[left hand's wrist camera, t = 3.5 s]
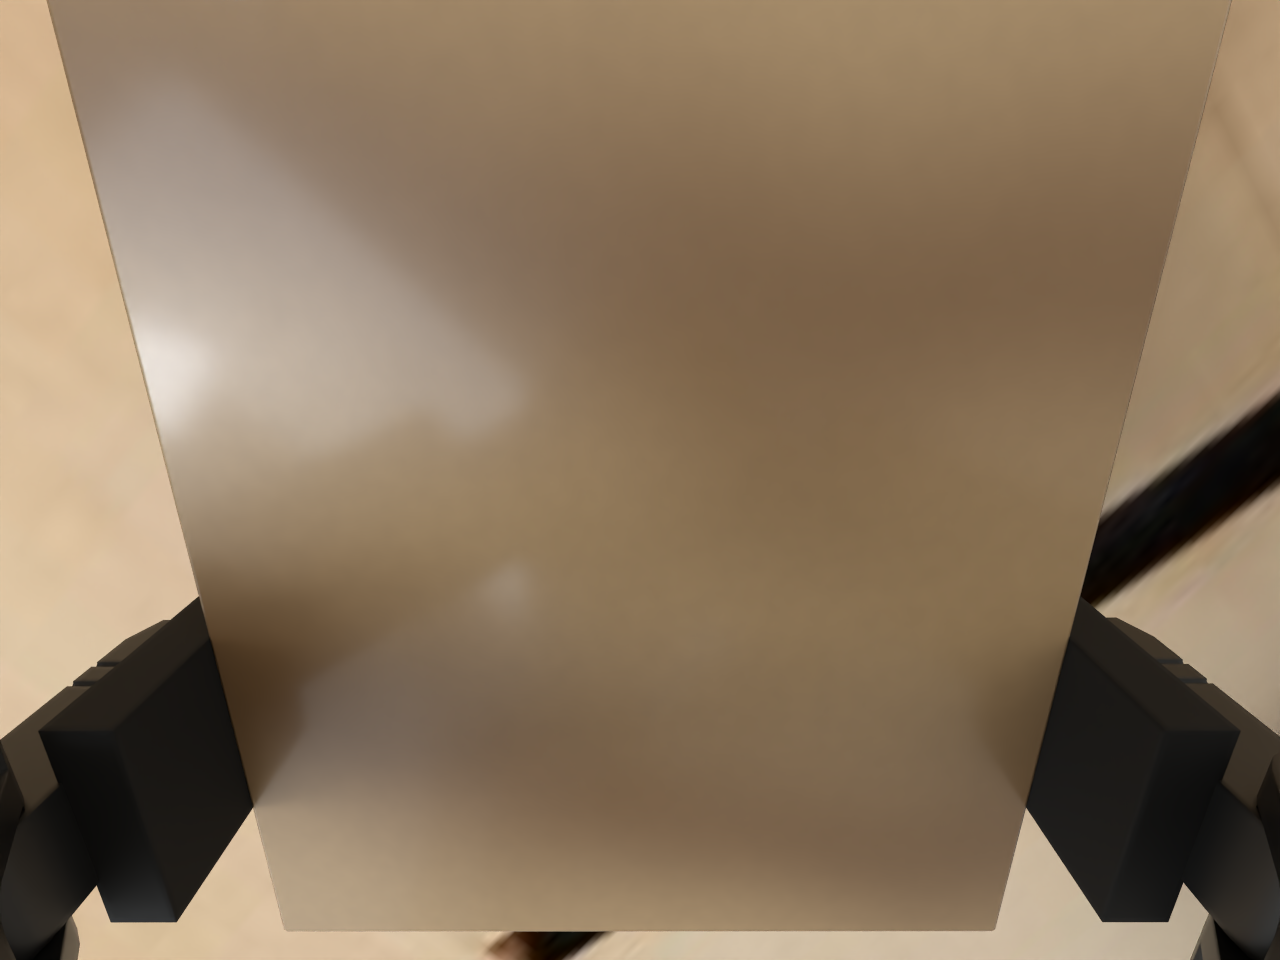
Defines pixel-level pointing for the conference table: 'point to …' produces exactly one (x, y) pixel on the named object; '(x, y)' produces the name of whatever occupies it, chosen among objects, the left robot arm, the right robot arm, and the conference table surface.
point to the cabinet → (639, 426)
